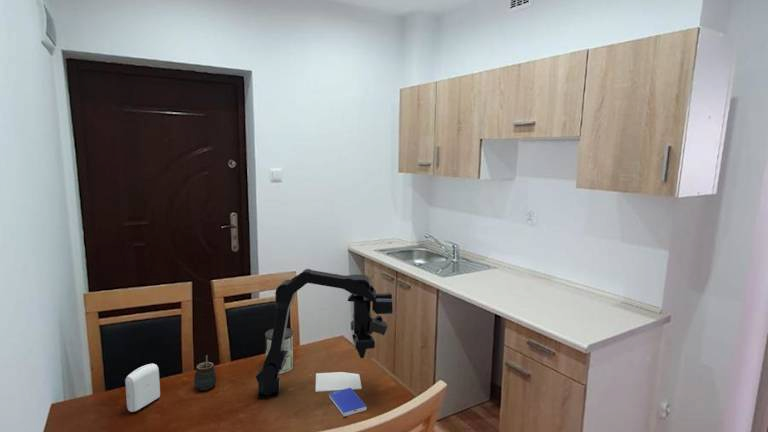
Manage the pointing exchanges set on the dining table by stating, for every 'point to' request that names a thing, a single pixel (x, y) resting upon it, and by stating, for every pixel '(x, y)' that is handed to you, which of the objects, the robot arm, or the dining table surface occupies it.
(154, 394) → the photo printer
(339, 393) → the hard drive
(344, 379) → the rubber mat
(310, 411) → the dining table surface
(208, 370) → the mate gourd
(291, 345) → the coffee can
